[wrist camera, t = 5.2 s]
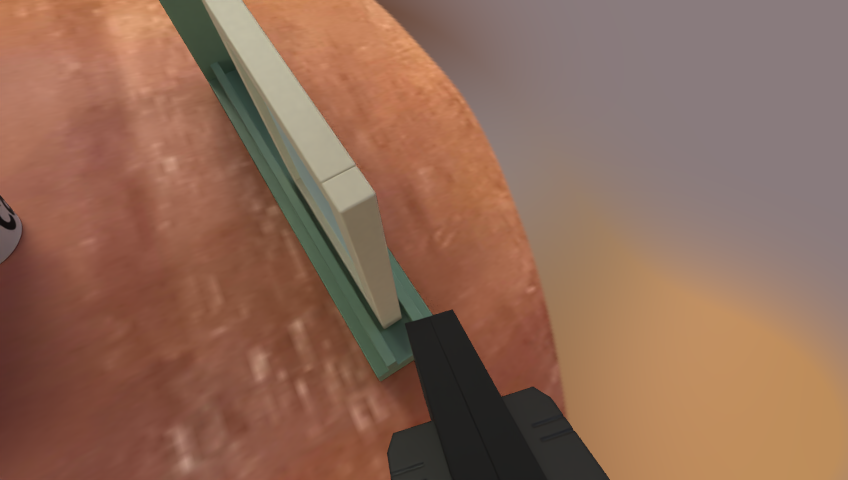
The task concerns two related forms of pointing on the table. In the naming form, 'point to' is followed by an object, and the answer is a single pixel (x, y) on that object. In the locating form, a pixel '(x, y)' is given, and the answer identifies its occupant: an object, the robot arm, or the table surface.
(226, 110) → the green l-shaped bracket
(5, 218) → the cup
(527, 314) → the table surface
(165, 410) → the table surface
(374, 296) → the window pane
